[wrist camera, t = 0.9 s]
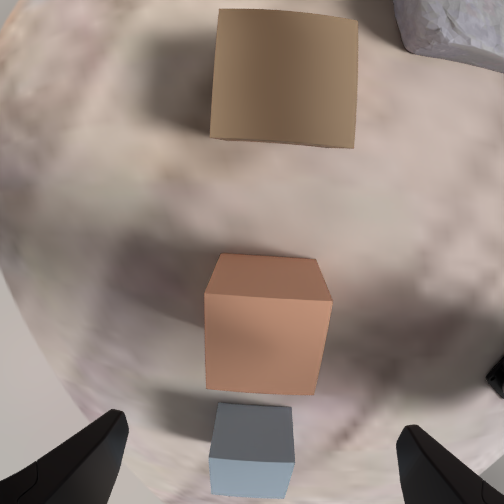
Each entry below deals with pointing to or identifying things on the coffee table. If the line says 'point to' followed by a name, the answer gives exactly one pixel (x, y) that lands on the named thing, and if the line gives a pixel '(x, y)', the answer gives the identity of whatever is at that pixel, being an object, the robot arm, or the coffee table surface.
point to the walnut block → (285, 78)
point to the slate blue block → (251, 451)
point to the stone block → (454, 30)
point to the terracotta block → (265, 324)
